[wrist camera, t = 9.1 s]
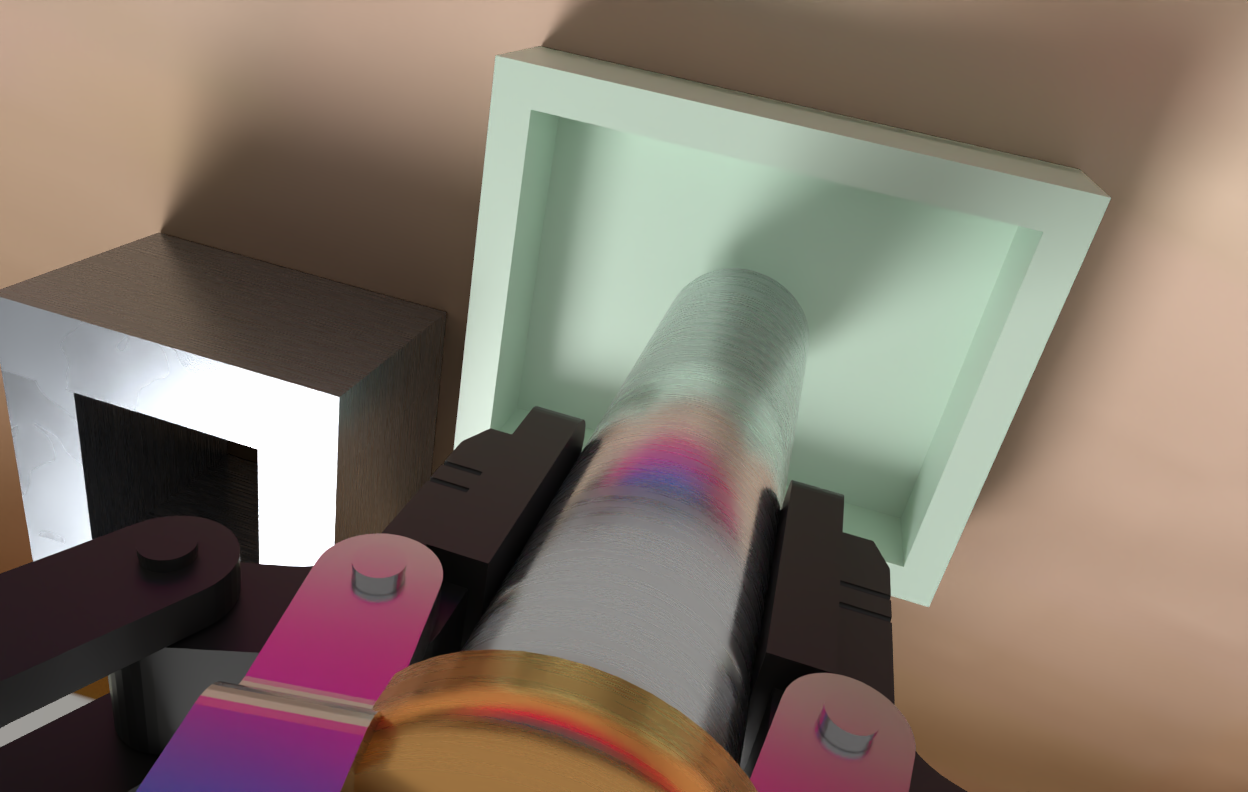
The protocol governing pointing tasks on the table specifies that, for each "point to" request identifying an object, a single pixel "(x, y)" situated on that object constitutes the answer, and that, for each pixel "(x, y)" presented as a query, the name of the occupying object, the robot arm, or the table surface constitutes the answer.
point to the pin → (628, 581)
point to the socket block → (215, 399)
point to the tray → (773, 275)
